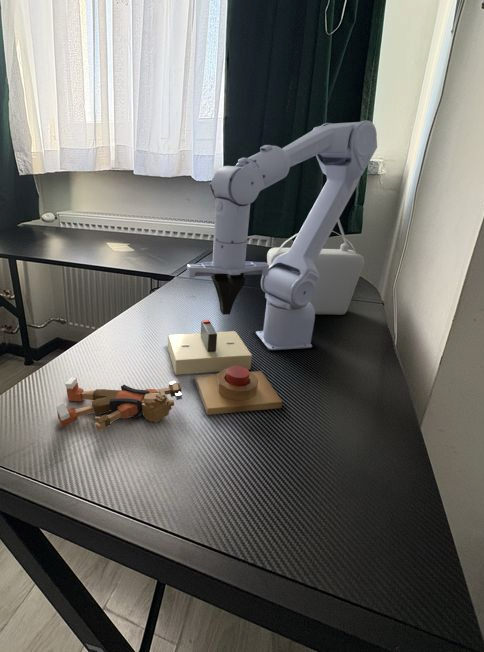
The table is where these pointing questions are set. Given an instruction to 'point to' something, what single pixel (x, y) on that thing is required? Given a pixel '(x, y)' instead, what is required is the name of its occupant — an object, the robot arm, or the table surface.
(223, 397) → the button block
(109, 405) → the character figurine
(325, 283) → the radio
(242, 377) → the button
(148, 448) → the table surface
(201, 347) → the panel
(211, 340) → the dark grey block
